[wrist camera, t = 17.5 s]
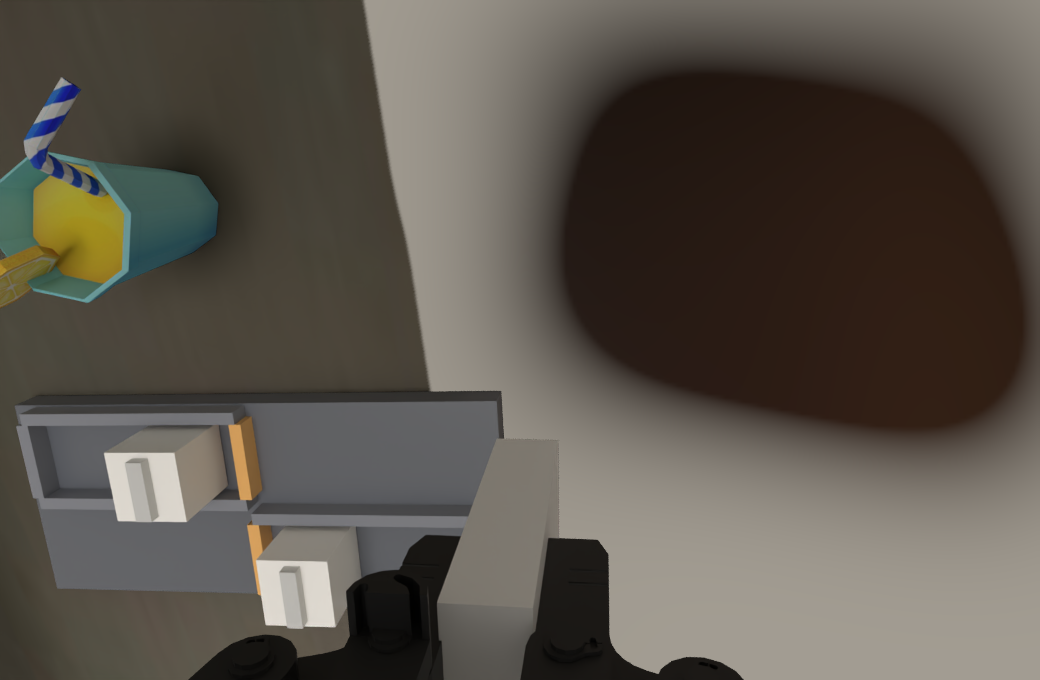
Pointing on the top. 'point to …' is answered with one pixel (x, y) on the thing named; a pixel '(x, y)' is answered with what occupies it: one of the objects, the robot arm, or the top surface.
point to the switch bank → (257, 479)
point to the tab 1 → (166, 472)
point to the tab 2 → (308, 575)
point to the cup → (92, 217)
